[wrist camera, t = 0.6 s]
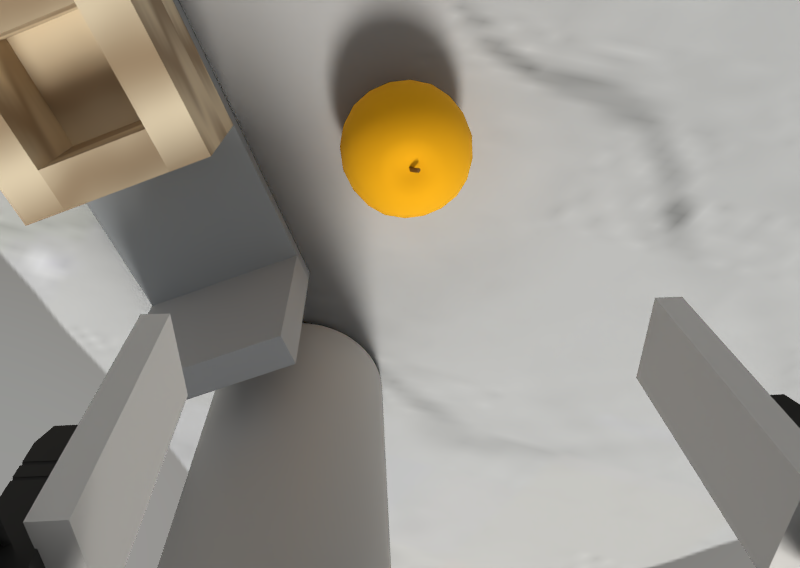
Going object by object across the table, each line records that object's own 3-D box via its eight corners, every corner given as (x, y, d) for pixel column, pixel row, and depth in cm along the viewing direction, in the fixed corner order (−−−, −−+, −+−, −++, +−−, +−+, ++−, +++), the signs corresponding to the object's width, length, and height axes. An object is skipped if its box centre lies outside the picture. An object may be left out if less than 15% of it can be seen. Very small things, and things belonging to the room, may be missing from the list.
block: (-42, 5, 34) (-122, 17, 28) (138, -71, 33) (91, -75, 27) (74, 185, 39) (25, 225, 33) (233, 125, 38) (210, 156, 32)
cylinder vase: (308, 287, 45) (258, 614, 23) (413, 392, 50) (455, 742, 28) (187, 378, 48) (41, 741, 26) (297, 468, 53) (253, 835, 31)
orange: (325, 90, 38) (317, 119, 32) (449, 55, 38) (468, 78, 31) (361, 206, 42) (361, 255, 36) (474, 177, 42) (496, 220, 35)
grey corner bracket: (-113, -126, 32) (-319, -158, 22) (75, -213, 31) (-55, -287, 21) (170, 320, 45) (119, 421, 36) (309, 272, 44) (295, 363, 35)
